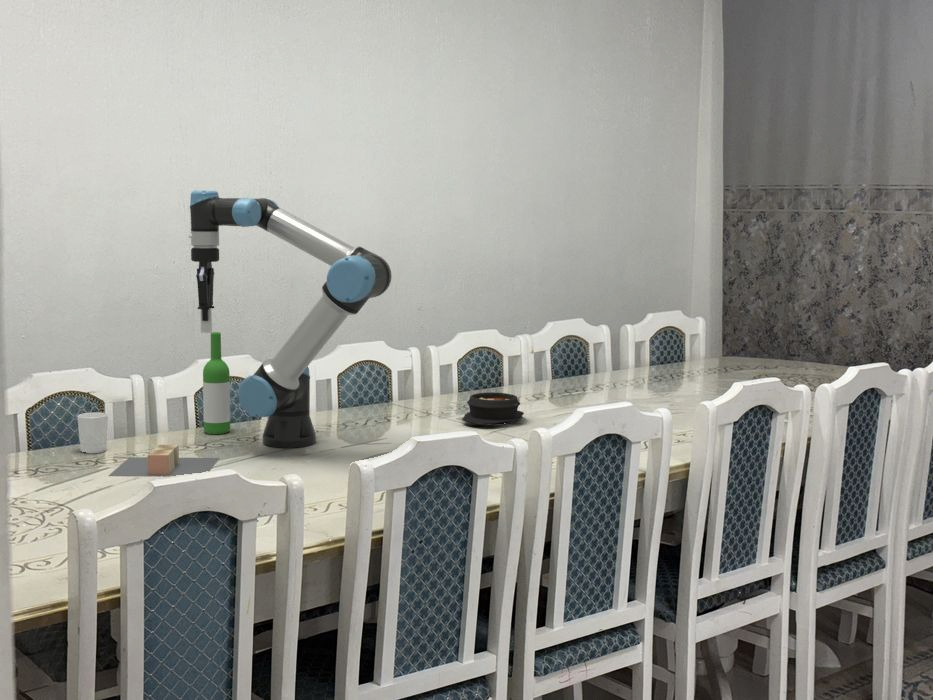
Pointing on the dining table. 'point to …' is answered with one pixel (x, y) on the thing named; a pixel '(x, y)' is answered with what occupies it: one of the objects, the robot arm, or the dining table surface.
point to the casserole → (493, 408)
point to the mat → (185, 466)
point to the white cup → (93, 432)
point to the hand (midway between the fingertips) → (206, 332)
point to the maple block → (163, 459)
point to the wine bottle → (216, 390)
